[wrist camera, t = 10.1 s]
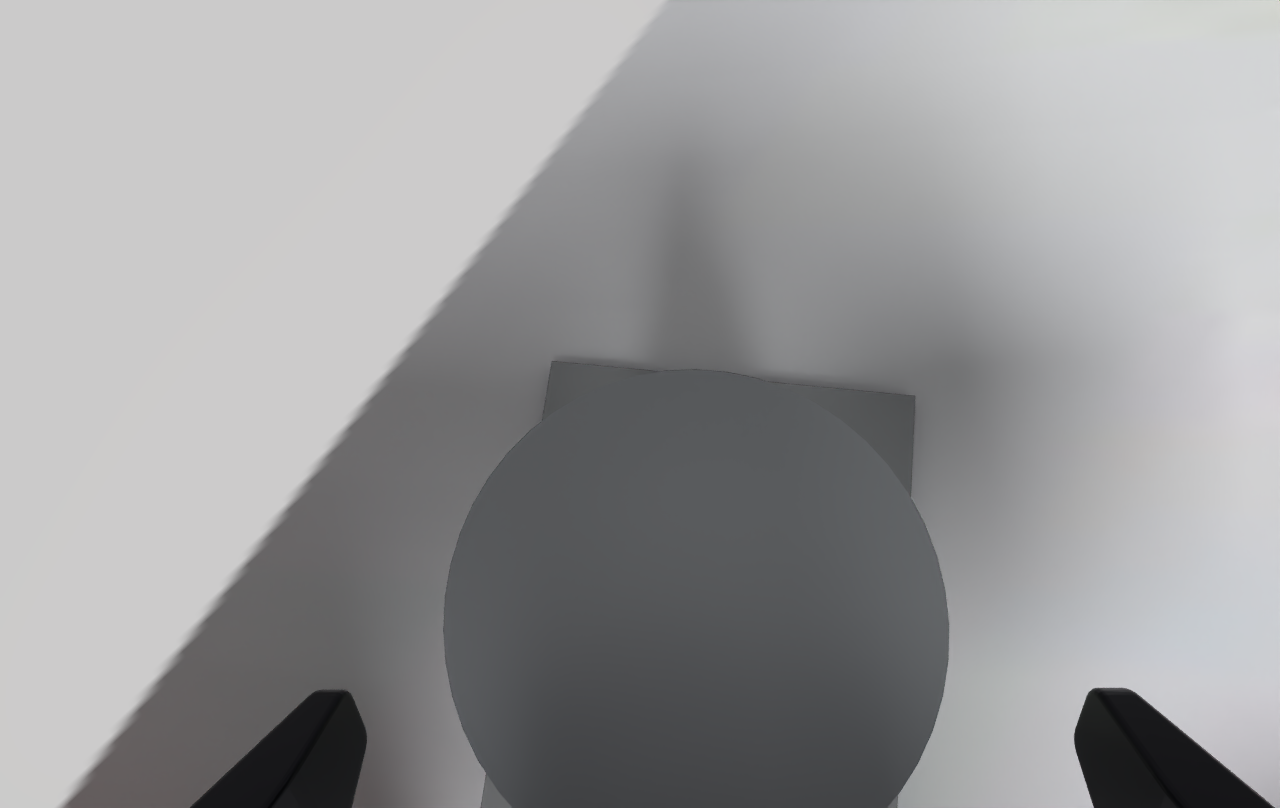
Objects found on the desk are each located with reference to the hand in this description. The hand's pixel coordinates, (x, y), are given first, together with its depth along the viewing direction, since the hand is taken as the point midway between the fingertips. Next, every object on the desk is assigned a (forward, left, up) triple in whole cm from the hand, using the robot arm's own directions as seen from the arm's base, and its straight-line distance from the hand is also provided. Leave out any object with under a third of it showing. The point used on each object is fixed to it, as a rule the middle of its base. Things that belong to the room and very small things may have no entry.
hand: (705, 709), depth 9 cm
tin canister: (+1, 0, -10) cm, 10 cm away
